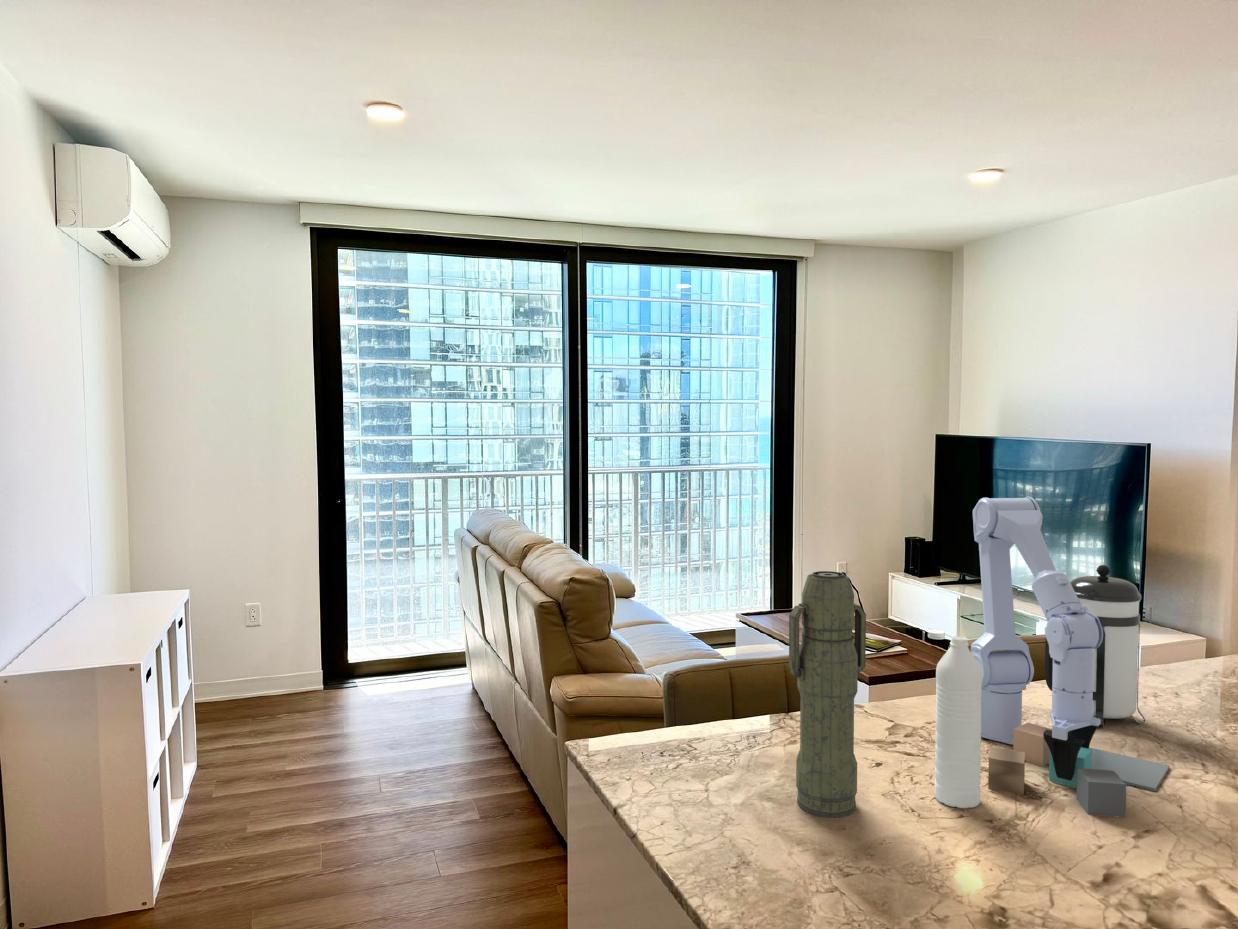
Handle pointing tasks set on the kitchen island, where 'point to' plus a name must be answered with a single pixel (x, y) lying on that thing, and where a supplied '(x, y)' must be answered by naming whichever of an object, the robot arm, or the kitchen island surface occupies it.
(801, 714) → the thermos
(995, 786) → the walnut block
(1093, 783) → the charcoal block
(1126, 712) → the coffee press
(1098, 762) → the slate coaster
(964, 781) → the water bottle
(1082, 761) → the teal block
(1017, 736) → the terracotta block
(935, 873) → the kitchen island surface
